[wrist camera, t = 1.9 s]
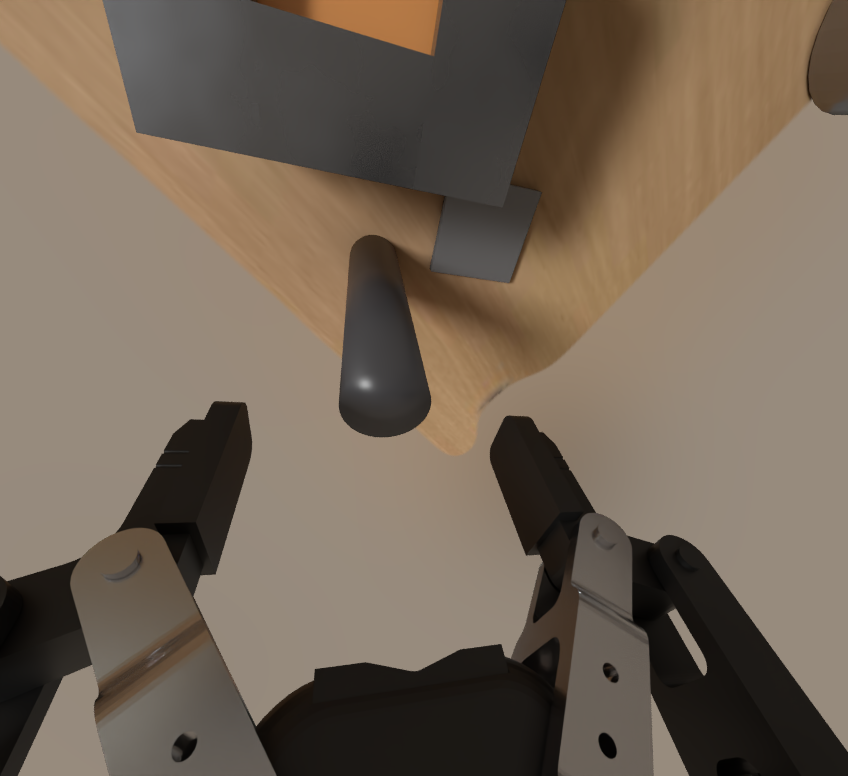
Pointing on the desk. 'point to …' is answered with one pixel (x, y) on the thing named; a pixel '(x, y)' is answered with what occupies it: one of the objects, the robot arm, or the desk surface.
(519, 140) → the grey boxy frame
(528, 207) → the pad
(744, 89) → the desk surface
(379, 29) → the button
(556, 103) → the desk surface
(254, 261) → the desk surface
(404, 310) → the handle
